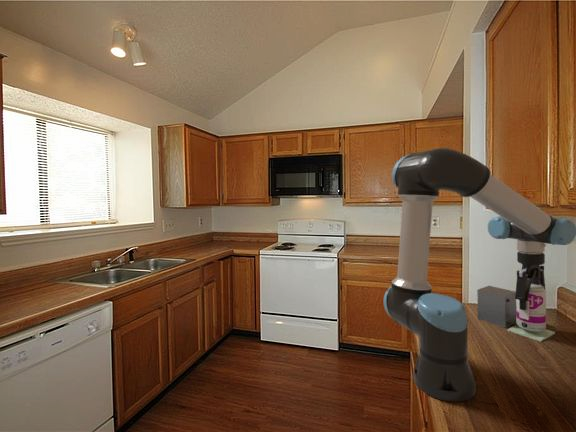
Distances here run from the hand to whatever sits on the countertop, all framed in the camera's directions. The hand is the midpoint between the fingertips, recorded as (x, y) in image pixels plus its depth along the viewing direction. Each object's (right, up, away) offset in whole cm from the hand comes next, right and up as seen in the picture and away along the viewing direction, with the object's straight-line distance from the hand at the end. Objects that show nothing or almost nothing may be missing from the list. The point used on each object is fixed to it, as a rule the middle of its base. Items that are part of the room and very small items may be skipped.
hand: (530, 315), depth 109 cm
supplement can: (0, -4, 0) cm, 4 cm away
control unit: (-5, -6, +11) cm, 13 cm away
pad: (0, -6, +1) cm, 6 cm away
